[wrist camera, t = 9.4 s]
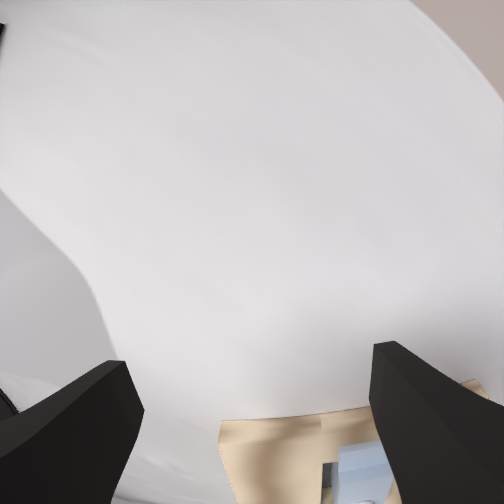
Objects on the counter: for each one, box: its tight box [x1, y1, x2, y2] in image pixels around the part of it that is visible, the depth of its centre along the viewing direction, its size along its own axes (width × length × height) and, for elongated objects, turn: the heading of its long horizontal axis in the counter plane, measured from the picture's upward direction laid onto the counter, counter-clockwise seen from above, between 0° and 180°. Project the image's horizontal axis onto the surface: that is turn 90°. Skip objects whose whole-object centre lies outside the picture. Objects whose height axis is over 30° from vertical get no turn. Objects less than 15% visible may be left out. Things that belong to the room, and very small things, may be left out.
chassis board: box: [217, 379, 489, 504], centre depth 20 cm, size 20×14×2 cm
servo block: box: [331, 440, 394, 504], centre depth 19 cm, size 4×11×5 cm, turn 8°
